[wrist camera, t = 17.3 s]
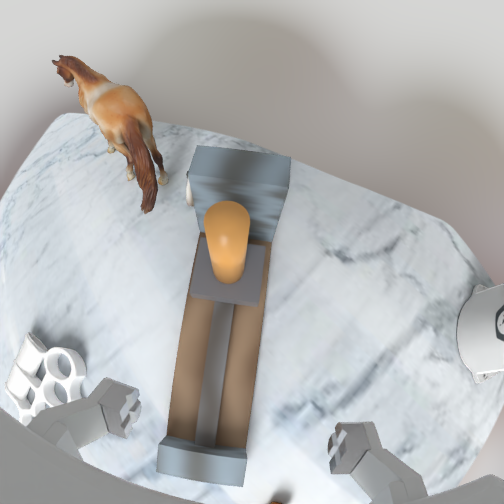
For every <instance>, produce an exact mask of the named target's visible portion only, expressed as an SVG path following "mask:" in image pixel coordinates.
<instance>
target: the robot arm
mask: <svg viewBox="0 0 504 504" xmlns="http://www.w3.org/2000/svg"><path fill="white" fill-rule="evenodd" d="M457 342H458V349H459V353H460V356H461V358H462V361H463V362H464V364H465V365H466V367H467V368H468V369H469V370H470V371H471V372H472V375H473V378H474V381H475V383H476V384H479V383H483V382H484V381H486V380H488V379H490V378H491V377H493V376H495V375H496V374H498V373H500V372H501V371H504V283H502V284H500V285H497V286H494V287H491V288H488V287H485V286H483V285H481V284H478V285H476V286H475V287H474V289H473V292H472V296H471V297H470V299H469V300H468V301H467V302H466V303H465V305H464V306H463V308H462V310H461V313H460V316H459V320H458V326H457ZM139 395H140V394H139V389H137V388H134V387H132V386H129V385H126V384H123V383H121V382H118V381H115V380H113V379H110V378H107V377H106V378H104V379H103V380H102V381H101V382H100V383H99V385H98V386H97V387H96V388H95V389H94V391H93V392H92V393H91V394H90V395H89V397H88V398H87V399H86V398H81V399H78V400H75V401H71V402H68V403H65V404H61V405H58V406H55V407H51V408H48V409H44V410H41V411H40V412H39V413H38V414H37V415H36V416H35V417H34V418H33V420H32V421H31V422H30V423H29V424H28V425H27V426H24V425H23V424H22V423H20V422H19V421H18V420H16V419H15V418H14V417H12V416H11V415H10V414H8V413H7V412H6V411H5V410H3V409H2V408H1V407H0V504H204V503H199V502H195V501H190V500H186V499H182V498H178V497H175V496H171V495H168V494H164V493H161V492H158V491H154V490H151V489H148V488H145V487H143V486H140V485H137V484H134V483H132V482H129V481H126V480H124V479H121V478H119V477H116V476H114V475H112V474H109V473H107V472H105V471H103V470H100V469H98V468H96V467H94V466H92V465H90V464H88V463H86V462H84V461H83V459H82V457H81V455H80V453H79V451H78V449H80V448H82V447H84V446H86V445H88V444H90V443H92V442H94V441H96V440H97V439H99V438H101V437H103V436H105V435H107V434H109V433H111V434H114V435H117V436H119V437H122V438H125V439H127V438H128V436H129V434H130V432H131V431H132V429H133V428H132V423H135V422H137V420H138V418H139V416H140V412H141V402H140V401H139V400H138V397H139ZM335 431H336V432H335V433H333V434H332V435H331V437H330V439H329V442H328V454H329V455H330V456H331V457H332V459H331V460H330V462H329V463H330V471H331V474H350V475H351V477H352V478H353V479H354V480H355V481H356V482H357V484H358V485H359V486H360V487H361V488H362V489H363V490H364V492H365V493H366V494H367V495H368V496H369V497H370V498H371V499H372V501H371V502H370V503H369V504H504V480H502V479H501V478H499V477H497V476H495V475H491V474H490V475H486V476H483V477H481V478H479V479H476V480H474V481H471V482H469V483H467V484H464V485H461V486H459V487H456V488H453V489H450V490H447V491H444V492H441V493H438V494H435V495H431V496H428V494H427V491H426V488H425V485H424V483H423V480H422V477H421V475H419V474H418V473H417V472H415V471H414V470H413V469H411V468H410V467H409V466H407V465H406V464H405V463H403V462H402V461H401V460H400V459H398V458H397V457H396V456H394V455H393V454H392V453H391V452H389V451H388V450H387V449H383V448H382V445H381V442H380V439H379V436H378V433H377V430H376V427H375V424H374V423H373V422H339V423H338V424H337V425H336V427H335Z"/></svg>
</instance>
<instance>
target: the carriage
mask: <svg viewBox="0 0 504 504" xmlns="http://www.w3.org/2000/svg"><path fill="white" fill-rule="evenodd" d="M249 227H250V216H249V214H248V212H247V210H246V209H245V208H244V207H243V206H242V205H240V204H239V203H237V202H234V201H221V202H218V203H215V204H214V205H212V206H211V207H210V208H209V209H208V210H207V212H206V213H205V216H204V228H205V233H206V238H203V237H200V242H199V247H198V251H197V256H196V261H195V266H194V271H193V276H192V281H191V286H190V292H189V293H190V295H191V296H192V297H193V298H199V299H205V300H211V301H218V302H224V303H231V304H238V305H245V306H252V307H257V306H258V304H259V299H260V291H261V283H262V275H263V266H264V258H265V249H266V246H260V245H253V244H247V243H248V235H249Z"/></svg>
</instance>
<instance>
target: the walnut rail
mask: <svg viewBox="0 0 504 504" xmlns="http://www.w3.org/2000/svg"><path fill="white" fill-rule="evenodd" d="M290 165H291V157H286V156H280V155H274V154H267V153H260V152H253V151H245V150H237V149H229V148H220V147H209V146H198V145H197V147H196V150H195V153H194V156H193V159H192V162H191V166H190V169H189V171H187V174H186V175H187V179H188V180H187V187H186V201H187V205H188V206H194V207H195V211H196V216H197V220H198V225H199V229H200V235H199V240H198V244H197V249H196V254H195V259H194V263H193V268H192V273H191V278H190V283H189V289H188V294H187V299H186V305H185V310H184V316H183V322H182V327H181V333H180V339H179V346H178V352H177V358H176V365H175V372H174V379H173V386H172V394H171V402H170V410H169V418H168V427H167V435H166V437H165V438H164V439H163V440H162V441H161V442H160V443H159V444H158V456H157V469H156V472H158V473H162V474H166V475H171V476H175V477H180V478H184V479H190V480H195V481H201V482H207V483H213V484H221V485H229V486H239V487H243V483H244V477H245V471H246V464H247V454H246V442H247V435H248V428H249V421H250V414H251V407H252V399H253V392H254V385H255V377H256V369H257V362H258V354H259V346H260V338H261V330H262V322H263V314H264V305H265V297H266V288H267V279H268V271H269V262H270V253H271V243H272V239H273V236H274V233H275V230H276V227H277V224H278V221H279V218H280V214H281V211H282V208H283V205H284V202H285V199H286V196H287V192H288V189H289V180H290ZM221 201H234V202H237V203H239V204H240V205H242V206H243V207H244V208H245V209H246V210H247V212H248V214H249V216H250V227H249V235H248V243H247V244H253V245H260V246H266V249H265V258H264V266H263V275H262V283H261V291H260V299H259V304H258V306H257V307H252V306H245V305H238V304H231V303H224V302H218V301H211V300H205V299H199V298H193V297H192V296H191V295H190V293H189V292H190V286H191V281H192V276H193V271H194V266H195V261H196V256H197V251H198V247H199V242H200V237H203V238H206V233H205V228H204V216H205V213H206V212H207V210H208V209H209V208H210V207H211V206H212V205H214V204H215V203H218V202H221Z"/></svg>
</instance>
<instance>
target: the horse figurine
mask: <svg viewBox="0 0 504 504" xmlns="http://www.w3.org/2000/svg"><path fill="white" fill-rule="evenodd" d="M59 57H60V58H61V59H60V60H59V61H55V60H52V62H53V64H54V65H56V66H58V68H57V73H58V74H59V75H60V76H62V77H63V79H64V85H65V86H67V87H72V86H73V84H74V83H73V80H74V78H75V80H76V82H77V84H78V86H79V93H78V94H79V102H80V105H81V106H82V107H83V108H84V111H85V113H86V114H88V115H89V117H90V119H91V120H92V121H93V122H94V123H95V124H97V125H99V127H100V130H101V132H102V134H103V135H104V136H105V138H106V139H107V140H108V145H109V147H108V153H113V152H114V151H115V149H116V150H118V151H119V152H120V153H122V154H123V155H125V156H126V158H127V162H128V165H127V168H126V172H127V177H128V181H130V180H132V179H133V178H134V177H135V175H134V173H133V165H134V166H135V172H136V176H137V181H138V184H139V186H140V188H141V189H142V190H143V200H142V204H141V208H142V209H141V210H142V211H143V210H144V214H146V213H148V212H150V211H152V210H153V208H154V205H155V201H156V196H157V191H158V184H157V180H156V175H155V168H154V164H153V161H152V159H151V156H150V153H149V150H150V151H151V153H152V157H153V159H154V161H155V163H156V164H157V165H158V167H159V170H160V177H159V179H158V183H159V184H160V185H165V184H167V183H168V178H167V177H168V176H167V173H166V172H165V171H164V168H163V164H162V163H163V158H162V155H161V154H160V153H159V151H158V150H157V148H156V144H155V140H154V137H153V135H152V130H153V125H152V120H151V117H150V114H149V112H148V109H147V107H146V105H145V103H144V102H143V100H142V99H141V98H140V96H139V95H138V94H137V93H136V92H135V91H134V90H133V89H132V88H131V87H129V86H125V85H119V84H115V83H112V82H111V81H109V80H108V79H107V78H106V77H105V76H104V75H102V74H99V73H97V72H95V71H94V70H92V69H91V68H90V67H88V66H87V65H86V64H85V63H84V62H82V61H81V60H80V59H78V58H76V57H73V56H63V55H59ZM114 147H115V148H114ZM147 147H148V148H149V150H148V148H147Z"/></svg>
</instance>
